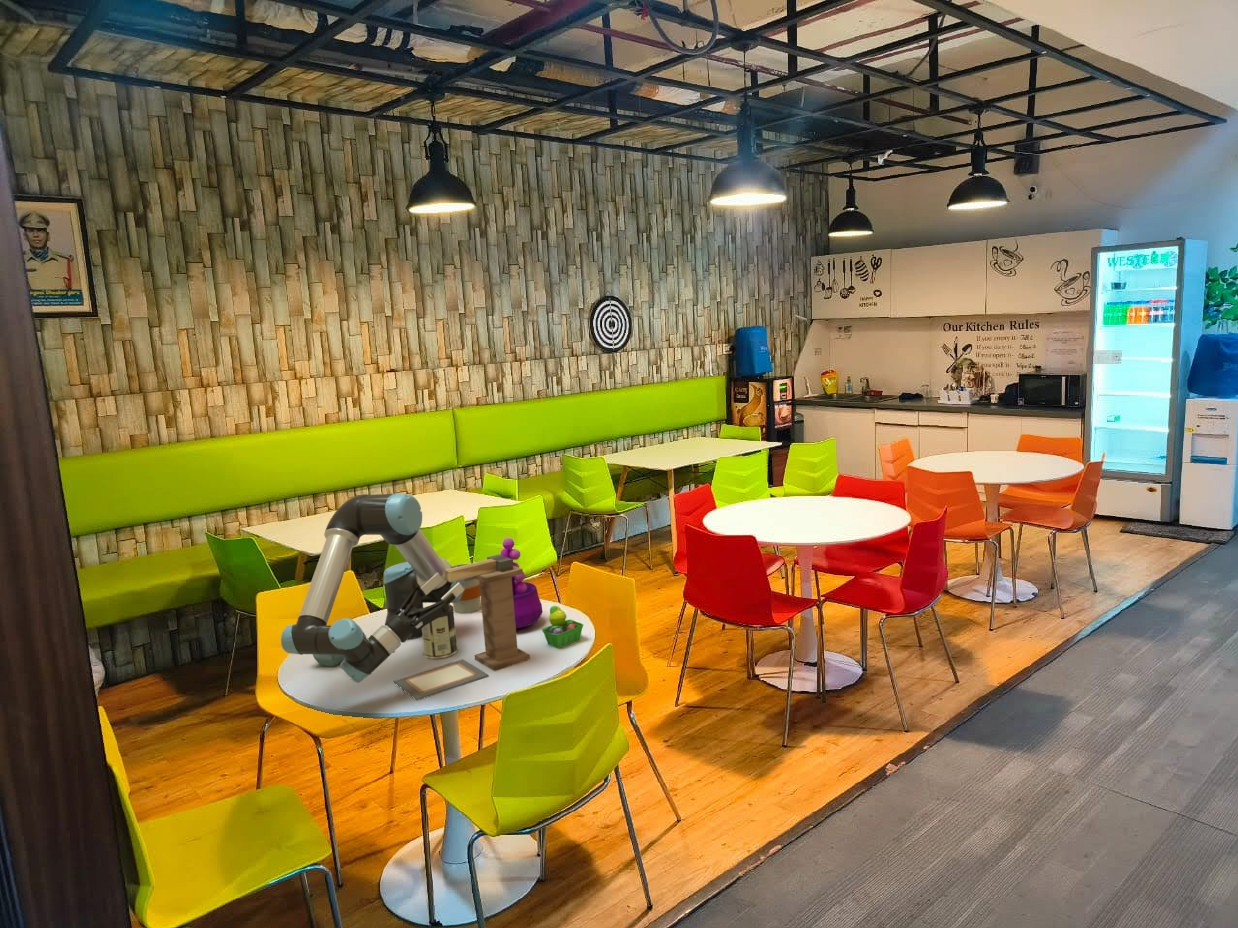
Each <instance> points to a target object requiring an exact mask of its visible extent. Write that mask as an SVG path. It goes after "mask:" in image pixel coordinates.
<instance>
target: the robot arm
mask: <svg viewBox="0 0 1238 928" xmlns="http://www.w3.org/2000/svg"><path fill="white" fill-rule="evenodd" d="M421 510H422V508H421V504H420V502H419V501H418V499H417V498H416V497H415V496H414V495H412V494H409V493H408V494H407V493H402V492H401V493H399V492H396V493H385V494H384V493H381V494H358V495H355V496H353V497H351V498H349V499H347V500H346V501H345V502H344V503H343V504H341V505H340V506H339V508H338V509H336V511H335V512H334V514H333V515H332V516H331V518H330V519H329V521H328V522H327V525H326V527H325V531H324V533H323V536H324V538H325V542H324V545H323V547H322V551H321V553H320V556H319V559H318V562H317V565H316V568H315V570H314V573H313V576H312V579H311V581H310V583H309V587H308V590H307V592H306V596H305V598H304V602H303V604H302V608H301V610H300V612H299V615H298V618H297V621H296V623H294V624H289V625H287V626H286V627H285V629H283V631H281V632H282V633H281V636H280V644H281V647H282V649H283V651H284V652H286V653H287V654H292V655H313V654H321V655H342V656H343V657H344V658H345V659H344V660H343V661H342V662H340V663H339V664H340V668H341V669H342V671H343V672H344V673H345V674H346V675H347V676H348V677H349V678H350V679H351V680H352V681H353V682H355V684H356V683H357V684H360V683H361V682H363V681H364V680H365V679H366V678H368V677H369V676H371V674H372V673H373V672H375V670H376V669H377V668H378V667H379V666H380V665H382V664H383V663H384V662H385V661H386V660H387V659H388V658H389V657H390V656H391V655H392V654H395V652H396V650H398V648H399V647H401V645H402V644H401V643H406V642H407V640H412V639H416V638H420V637H423V636H422V628H423V627H424V626H425V625H427V624H429V623H430V622H432V621H434V620H435V619H437V618H439V617H440V616H442V615H444V614H445V613H447V612H448V611H449V607H448V605H451V604H453V603H456V602H458V601H459V600H460V599H461V597H462V594H463V591H464V582H465V579H462V580H458V581H454V582H448V581H446V579H445V570H447V569H451V568H455V567H453V566H452V565H451V564H450V562H449V561H447V559H445V558H443V557H440V556H439V555H438V554H437V551H435V549H434V548H433V546H432V544H431V543H430V542H429V540H428V538H427V537H426V536H425V535H424V533H423V531H422V530H421V527H422V523H423V512H422V511H421ZM365 535H366V536H369V535H370V536H371V535H372V536H375V535H376V536H378V535H379V536H380V537H381V538H382V539H383V540H384V541H385V542H386V543H388V544H389V545H391V546H395V547H396V548H397V549H398V551H399V552H400V554H401V555H402V556H403V558H404V559H405V560H406V561H405V562H400V563H397V564H394V565H391V566H389V567H387V568H386V569H385V570H384V572H383V587H384V592H385V593H384V594H385V595H384V596H385V602H386V611H387V613H386V617H385V622H384V625H380V626H379V628H378V629H376V630H375V631H374V632H373V633H372V634H371V635H370V636H369V637H367V635H366V634H365V633H364V631H363V629H362V628H361V626H359V625H358V624H357V623H356V622H355V621H354V620H353V619H351V618H347V617H345V618H341V619H339V620H336V621H335V622H333V623H332V624H331V625H329V624H328V621H329V619H330V616H331V612H332V610H333V607H334V604H335V601H336V598H337V595H338V592H339V589H340V588H341V587H340V586H341V583H342V580H343V577H344V574H345V571H346V568H347V566H348V562H349V560H350V557H351V553H352V550H353V548H354V547H356V546H358V544H359V541H360V540H361V539H360V538H361V537H362V536H365ZM455 566H456V565H455ZM456 567H457V566H456ZM424 603H425V604H430V605H428V607H427V606H425V607H426V608H425V607H424ZM431 603H432V604H431ZM422 608H424V609H422ZM422 621H423V622H422Z"/></svg>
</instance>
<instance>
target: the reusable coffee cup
mask: <svg viewBox="0 0 1238 928" xmlns="http://www.w3.org/2000/svg"><path fill="white" fill-rule="evenodd" d="M467 564H468V563H463V564H457V565H454V566H453V565H452V567H456V566H457V567H459V566H463V565H467ZM452 606H453V608H454V610H453V611H454V613H456V614H460V615H461V614H462V615H463V614H464V615H465V614H472V613H475V612H477V611H479V610H480V608H481V595H480V584H479V580H478V579H475V578H473V577H469V578H466V579H465V582H464V591H463V594H462V597H461V599H460V600H459V601H458V602H456V603H452Z"/></svg>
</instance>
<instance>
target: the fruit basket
mask: <svg viewBox="0 0 1238 928" xmlns="http://www.w3.org/2000/svg"><path fill="white" fill-rule="evenodd" d="M548 616H549V617H548V620H549V623H550V624H551V625H548V626H546V627H544V628H542V629H541V632H542V633H543V634H544V637H545V640H546V643H547V645H548V646H549V645H550V646H551V647H554V648H556V649H559V648H561V647H565V646H567V645H570V644H572V643H575V642H579V641H580V640H581V635H582V630H583V627H584V624H583V623H581V622H578V621H575V620H572V619H567V614H566V613H565V611H563V609H561V607H560V606H557V605H552V606H551V607H550V608H549V615H548Z"/></svg>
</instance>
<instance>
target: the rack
mask: <svg viewBox="0 0 1238 928" xmlns="http://www.w3.org/2000/svg"><path fill="white" fill-rule="evenodd" d="M523 572H524V569H523V568H522V567H520V566H519V567H516V566H513V569H512V570H508V571H504V572H499V571H493V572H489V573H485V574H481V575H477V576H473V578H475V579H478V580H479V584H480V595H481V596H480V607H481V615H482V616H481V617H482V627H483V637H484V638H483V639H484V646H485V647H484V648H485V649H484V650H485V651H483V652H480V653H475V654H474V660H475V661H477V662H478V663H480V664H481V665H483V666H485V667H487V668H489V669H490V670H492V671H493V672H496V671H500V670H502V669H505V668H508V667H511V666H514V665H518V664H520V663H523V662H526V661H529V660H530V659H531V656H530V653H527V652H526V651H523V650H521V649H520V648H518V638H517V628H516V625H515V613H514V601H513V590H512V578H511V577H513V576H517V575H521V574H523Z"/></svg>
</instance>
